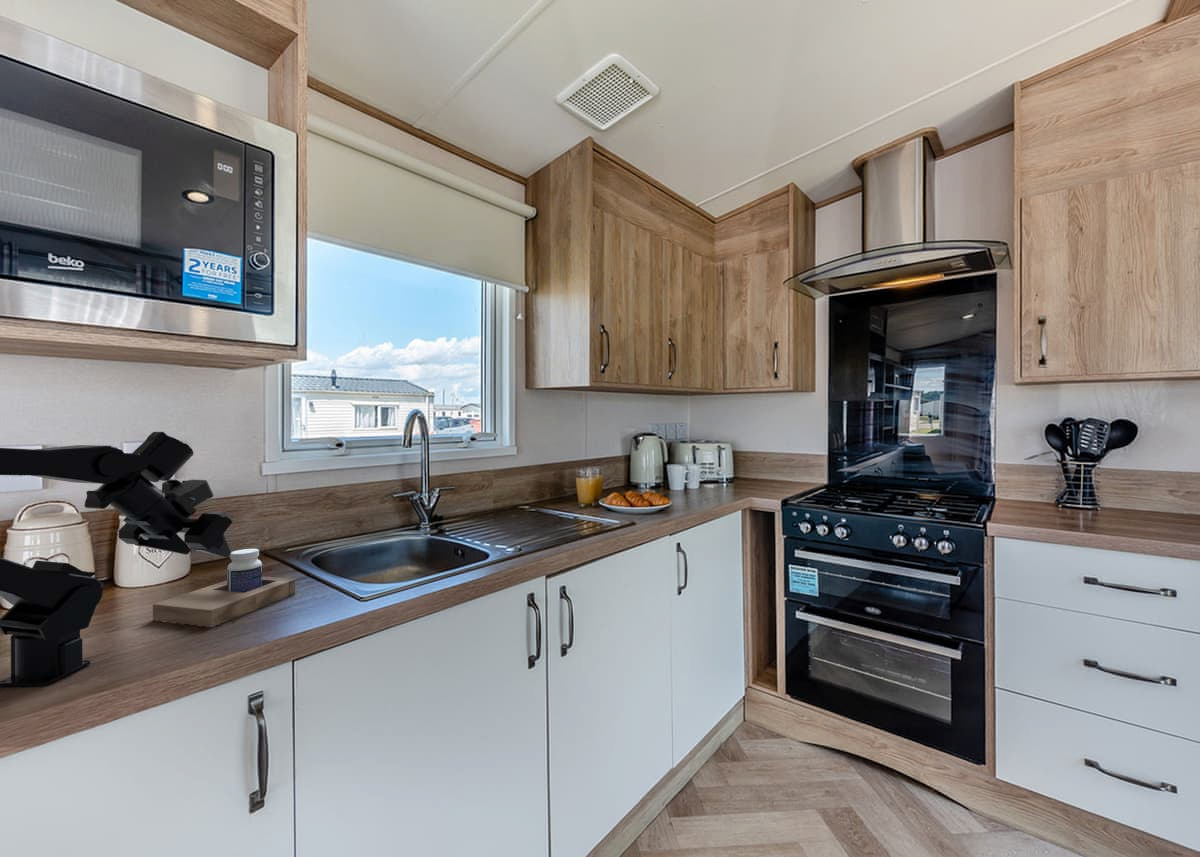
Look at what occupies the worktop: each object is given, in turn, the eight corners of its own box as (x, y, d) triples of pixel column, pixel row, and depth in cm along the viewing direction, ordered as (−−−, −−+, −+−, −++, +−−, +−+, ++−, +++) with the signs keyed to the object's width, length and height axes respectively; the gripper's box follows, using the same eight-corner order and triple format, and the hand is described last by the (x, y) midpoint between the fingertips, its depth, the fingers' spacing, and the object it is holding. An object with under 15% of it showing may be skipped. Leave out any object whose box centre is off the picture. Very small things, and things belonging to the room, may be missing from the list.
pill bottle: (268, 597, 102) (268, 548, 102) (240, 607, 97) (240, 555, 97) (249, 594, 104) (248, 546, 104) (220, 603, 99) (220, 553, 99)
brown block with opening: (211, 627, 87) (211, 610, 87) (152, 620, 90) (152, 604, 90) (295, 593, 105) (295, 579, 105) (243, 588, 108) (243, 574, 108)
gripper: (222, 467, 86) (276, 520, 97) (138, 464, 90) (198, 515, 101) (174, 521, 78) (239, 572, 89) (84, 515, 82) (156, 565, 93)
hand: (208, 553), depth 93 cm, fingers open, 9 cm apart
